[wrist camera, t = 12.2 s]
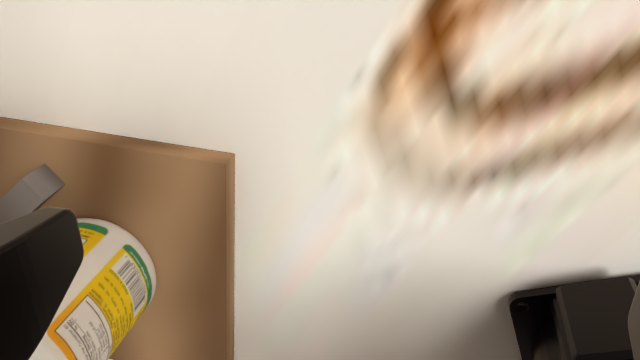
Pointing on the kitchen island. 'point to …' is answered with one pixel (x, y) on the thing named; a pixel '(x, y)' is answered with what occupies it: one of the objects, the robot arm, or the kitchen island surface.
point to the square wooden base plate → (141, 223)
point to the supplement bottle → (100, 295)
